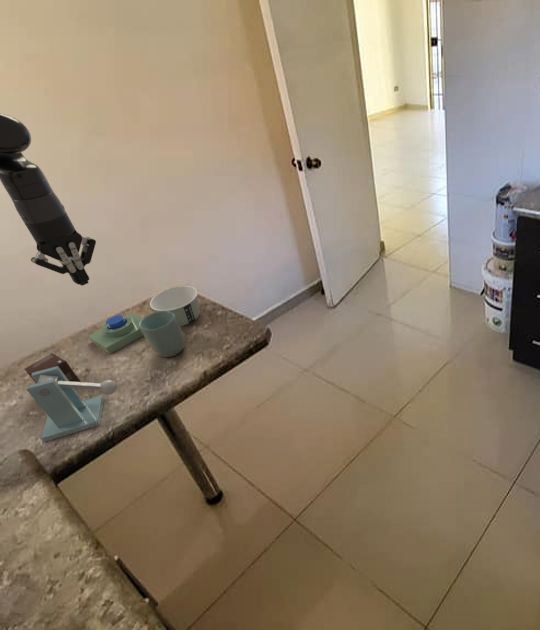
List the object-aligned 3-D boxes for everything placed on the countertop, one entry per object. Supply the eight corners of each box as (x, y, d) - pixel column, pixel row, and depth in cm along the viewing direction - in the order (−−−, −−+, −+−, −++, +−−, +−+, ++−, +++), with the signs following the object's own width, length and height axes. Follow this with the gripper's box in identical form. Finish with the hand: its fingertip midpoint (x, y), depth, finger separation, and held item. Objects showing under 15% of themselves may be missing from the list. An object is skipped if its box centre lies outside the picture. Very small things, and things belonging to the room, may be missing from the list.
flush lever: (116, 388, 95) (119, 377, 94) (115, 398, 92) (118, 387, 91) (39, 384, 87) (41, 371, 86) (35, 394, 85) (37, 382, 84)
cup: (195, 345, 111) (181, 314, 105) (170, 365, 106) (154, 333, 100) (174, 338, 114) (159, 307, 108) (148, 356, 108) (131, 325, 102)
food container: (214, 308, 124) (207, 289, 120) (182, 333, 115) (173, 314, 111) (182, 301, 128) (174, 282, 124) (149, 324, 119) (139, 305, 115)
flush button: (114, 331, 111) (110, 326, 110) (106, 326, 113) (102, 321, 112) (129, 323, 114) (126, 318, 113) (121, 318, 116) (118, 313, 115)
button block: (109, 354, 110) (102, 342, 107) (92, 342, 114) (84, 330, 111) (154, 328, 118) (148, 317, 115) (136, 318, 122) (130, 307, 119)
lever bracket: (104, 399, 97) (75, 357, 90) (99, 424, 92) (68, 382, 84) (52, 414, 94) (17, 372, 87) (44, 442, 88) (5, 399, 81)
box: (69, 374, 104) (52, 352, 100) (82, 383, 102) (66, 360, 97) (41, 391, 100) (23, 368, 96) (55, 400, 97) (36, 377, 93)
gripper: (69, 201, 98) (104, 267, 109) (0, 222, 90) (45, 292, 100) (85, 207, 95) (120, 275, 105) (15, 230, 86) (60, 301, 96)
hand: (83, 283), depth 103 cm, fingers closed
